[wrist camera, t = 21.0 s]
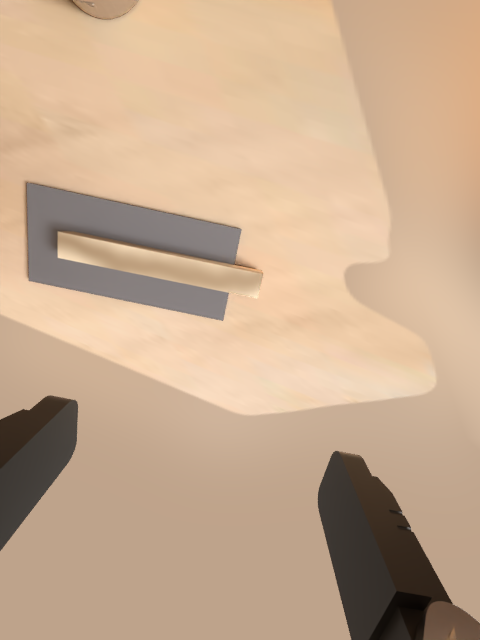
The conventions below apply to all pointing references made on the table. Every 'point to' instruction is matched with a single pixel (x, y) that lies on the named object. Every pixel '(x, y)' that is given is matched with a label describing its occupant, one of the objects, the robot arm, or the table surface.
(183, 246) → the charcoal mat
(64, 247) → the birch bar
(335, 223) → the table surface
